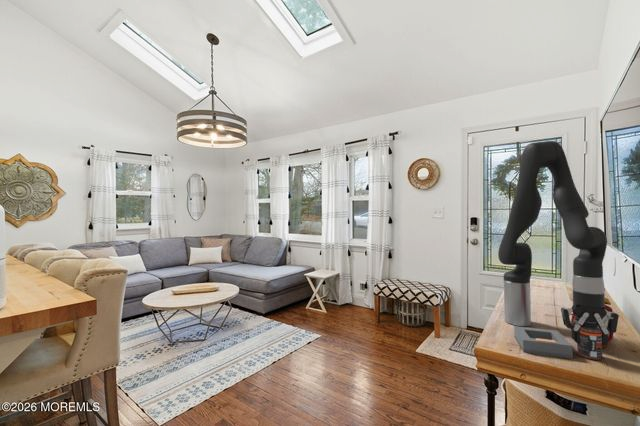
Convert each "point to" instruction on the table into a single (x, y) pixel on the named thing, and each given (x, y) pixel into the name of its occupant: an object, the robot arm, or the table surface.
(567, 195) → the robot arm
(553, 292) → the table surface
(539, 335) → the socket holder
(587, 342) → the supplement bottle
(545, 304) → the table surface
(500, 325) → the table surface
